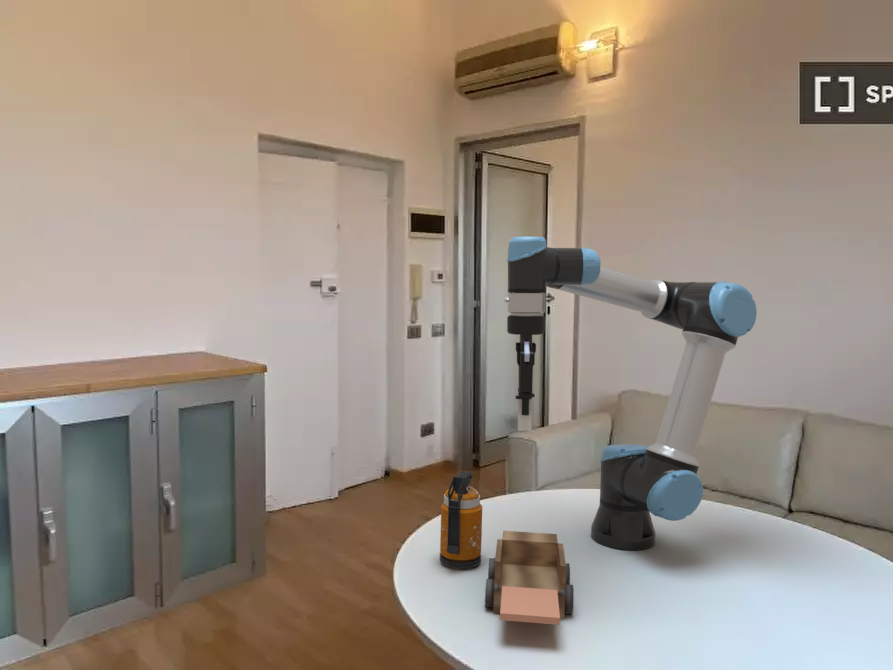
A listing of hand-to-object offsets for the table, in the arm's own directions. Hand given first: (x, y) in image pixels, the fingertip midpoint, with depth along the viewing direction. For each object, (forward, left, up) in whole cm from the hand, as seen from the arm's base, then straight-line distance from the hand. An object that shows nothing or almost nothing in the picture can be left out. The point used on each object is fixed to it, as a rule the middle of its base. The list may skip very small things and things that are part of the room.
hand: (524, 429), depth 137 cm
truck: (-2, +7, -32) cm, 32 cm away
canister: (+13, -6, -32) cm, 35 cm away
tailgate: (-2, +15, -27) cm, 31 cm away
